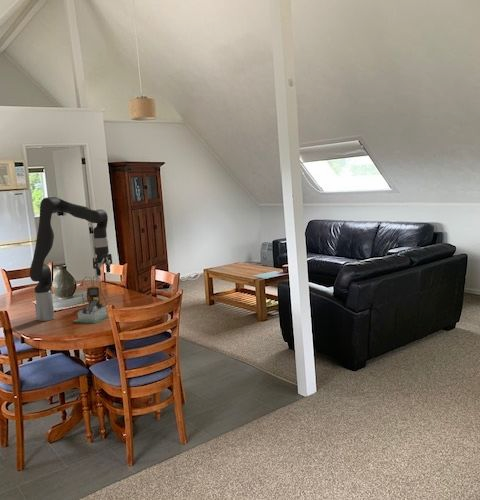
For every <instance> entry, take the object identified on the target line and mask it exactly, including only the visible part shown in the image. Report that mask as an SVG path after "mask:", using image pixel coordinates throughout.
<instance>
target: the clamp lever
mask: <svg viewBox="0 0 480 500" xmlns="http://www.w3.org/2000/svg"><path fill="white" fill-rule="evenodd" d="M98 300H99V298H96V297H94V298H93V301H92V302H91V304H90V305H89V304H88V307H86V308H87V310H86V311H85V313H89V309H90V308H92V309H93V308H94V306H95V305H96V303H97V302H98Z"/></svg>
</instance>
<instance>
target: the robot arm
mask: <svg viewBox="0 0 480 500" xmlns="http://www.w3.org/2000/svg"><path fill="white" fill-rule="evenodd" d="M56 213H65V214H69V215H70V216H72V217H74V218H77V219H81V220H85V221H86V222H89V223H92V224H96V226H95V227H94V228H93V231H92V232H93V248H94V249H93V250H94V254H95V256H96V257H93V258H92V268H93V269H94V270H96V276H97V277H101V275H102V271H101V267H102V266H103V265H105V271H106V273H111V265H112V264H113V257H112V253H109V251H110V250H109V241H108V236H107V227H108V218H109V216H108V213H107V211H106V210H104V209H96V210H95V209H94V210H93V209H91V208H90V207H88V206H84V205H80V204H75V203H72V202H68V201H67V200H64V199H62V198H59V197H58V196H51V197H44V198H42V200H41V202H40V206H39V220H38V221H39V222H38V227H37V235H36V239H35V240H36V241H35V247H34V252H33V257H32V260H31V264H30V268H29V277H30V280H31V281H33V282H36V283H37V285H36V286H35V287H34V297H35V305H34V306H35V315H36V320H37V321H40V322H47V321H51V320H53V319H55V311H54V303H53V294H52V286H53V275H52V269H51V268H50V266H49V265H48V264H46V263H45V260H46V258H47V256H48V255H49V253H50V252H51V250H52V249H53V245H54V240H55V233H54V230H53V228H52V224H51V223H52V222H51V220H52V215H53V214H56Z"/></svg>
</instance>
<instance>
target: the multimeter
mask: <svg viewBox="0 0 480 500" xmlns="http://www.w3.org/2000/svg"><path fill="white" fill-rule="evenodd" d="M95 277H96V278H98V276H97V275H95V276H93V277H92V278H91V277H90V276H88V278H89V279H90V280H91V286H87V287H86V299H87V302H88V306H89V305H90V304H91V302H92V301H93V298H94V297H96V298H99V300H98V302H97V303H96V305H95V306H96V307H98V304H102V303H101V296H102V298H103V299H104V302H105V303H106V304H105V305H102V307H104V306H105V307H107V305H108V304H107V301H106V300H105V299H106V298H105V297H104V295H103V293H102V291H101V289H102V288H101V283H102V282H99V285H95V281H94V280H93V279H94V278H95ZM86 278H87V276H85V277H84V278H83V280H82V283H81V285H83V283H84V280H85V279H86ZM98 280H99V281H101V279H100V278H98ZM83 295H84V294H81V296H82V298H84V296H83ZM82 301H83V303H85V300H84V299H82Z"/></svg>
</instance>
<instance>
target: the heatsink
mask: <svg viewBox="0 0 480 500" xmlns="http://www.w3.org/2000/svg"><path fill="white" fill-rule="evenodd" d="M102 306H103V307H102ZM106 307H107V306H105V305H103V303H101V304H98V306H94V308H93V309H92V308H90V309H89V313H85V311H86V310H87V308H88V307H82V309H81V310H79V311H78V312H77V317H78V318H77V319H74V320H72V322H73V323H81V324H83V323H84V324H93V323H96V324H98V323H100V322H102V321H104V320H106V319H108V318H109V317H108V316H107V312H106ZM105 318H106V319H105ZM103 319H104V320H103ZM101 320H102V321H101Z"/></svg>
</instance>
